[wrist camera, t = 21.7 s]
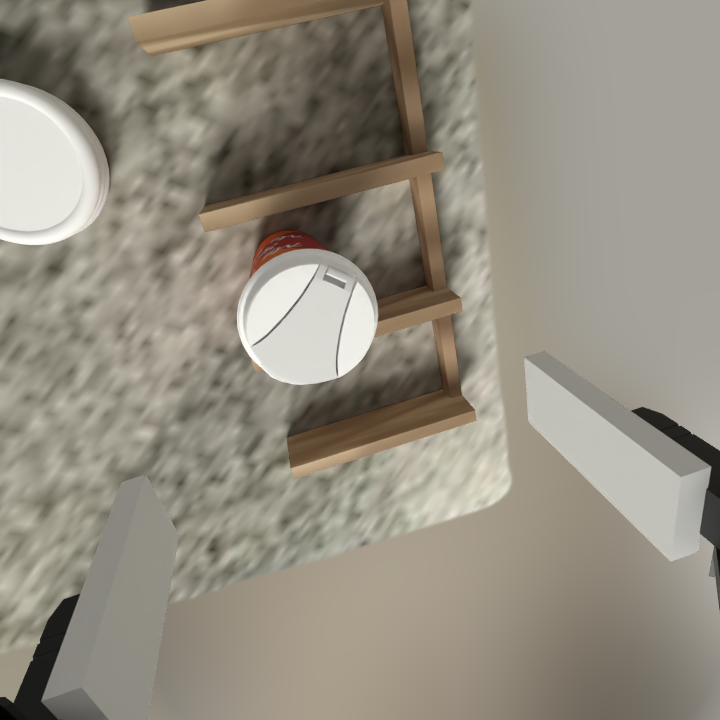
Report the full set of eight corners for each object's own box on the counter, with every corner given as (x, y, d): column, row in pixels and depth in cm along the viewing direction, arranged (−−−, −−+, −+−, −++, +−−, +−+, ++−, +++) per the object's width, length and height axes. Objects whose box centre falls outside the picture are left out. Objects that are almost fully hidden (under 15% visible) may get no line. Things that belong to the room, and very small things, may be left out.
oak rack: (143, 35, 31) (127, 17, 27) (394, -20, 33) (417, -45, 29) (289, 447, 47) (294, 478, 43) (455, 395, 49) (476, 420, 44)
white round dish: (133, 139, 34) (121, 139, 31) (82, 261, 36) (67, 272, 33) (-27, 48, 30) (-59, 37, 27) (-71, 191, 33) (-105, 196, 29)
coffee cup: (262, 196, 37) (272, 227, 24) (354, 241, 40) (409, 290, 27) (223, 292, 39) (213, 368, 26) (313, 327, 42) (344, 412, 29)
